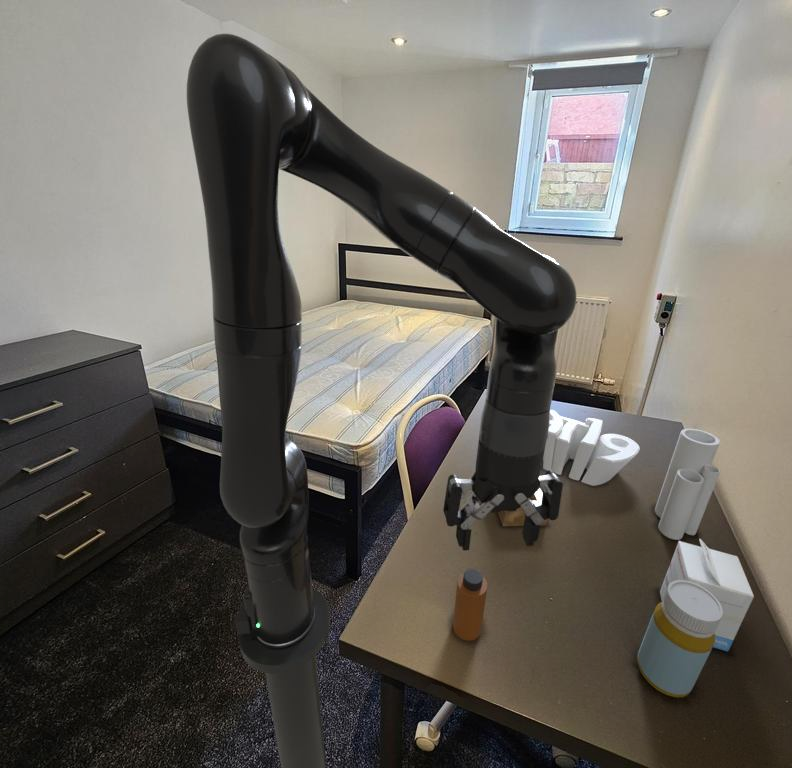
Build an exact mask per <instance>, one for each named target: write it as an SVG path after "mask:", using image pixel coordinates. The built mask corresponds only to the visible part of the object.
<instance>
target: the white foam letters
mask: <svg viewBox="0 0 792 768" xmlns="http://www.w3.org/2000/svg"><path fill="white" fill-rule="evenodd" d="M602 427H603V420H602V419H599V418H593V417H587V418H586V419H585V421H584V422H583V421H580V420H576V419H574V418H569V417H566V416H562V415H560V414H559V413H558V412H557V411H556V410H554V409H550V421H549V430H548V438H547V440H546V446H545V451H544V456H543V461H542V469H543V470H545V471H549V470H553V471H554V472H555V474H556V475H559V476H562V473H563V469H564V467H565V465H566V464H567V462H568V461H569V460H573V463H572V466H571V468H570V471H569V474H568V478H569V479H571V480H575V481H580V482H581V483H583V484H586V485H589V486H593V487H595V486H600V485H603V484H606V483H608V482H609V481H610V480H612V479H613V478H614V477H615V476H616V475H617V474H618V473H619V472H620V471H621V470H622V469H623V468H624V467H626V465H628V463H629V462H631V460H633V459H634V458H635V457H636V455H637V454H639V452H640V446H639V444H638V443H637V442H636V441H635V440H633V439H631V438H630V437H627V436H624V435H622V434H618V433H605V434H602V435H601V432H602ZM585 469H586V472H585V473H584V471H585ZM583 473H584V476H582V475H583ZM581 477H582V480H581Z"/></svg>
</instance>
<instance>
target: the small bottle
mask: <svg viewBox="0 0 792 768" xmlns="http://www.w3.org/2000/svg"><path fill="white" fill-rule="evenodd" d="M456 583H457V584H456V593H455V601H454V611H453V619H452V629H453V632H454V634H455V635H456V636H457V637H458V638H459V639H461V640H462V641H468V642H469V641H474V640H477V639H478V638H479V636H480V635H481V633H482V627H483V620H484V612H485V606H486V601H487V600H486V599H487V593H488V582H487V579H486V578H485V577H484V575H483V573H482V572H481V570H478V569H476V568H473V567H472V568H471V567H470V568H467V569H465V571H464V572H463V573H461V574H460V575H459V576H458V578H457V581H456Z"/></svg>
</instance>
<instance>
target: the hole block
mask: <svg viewBox="0 0 792 768" xmlns="http://www.w3.org/2000/svg"><path fill="white" fill-rule="evenodd" d="M542 496H543V490H542V488H541V487H540V488H539V490H538V491H537V492H536V493H535V494H534V495H533V496H532V497H531V498H530V499H531V500H532V502H533V503H534V504H535V506H536V507H537V506H540V505H541V503H542ZM497 514H498V517H499V521H500V522H501V525H502V527H523V526H524V520H525V515H526V512H525V511H524V510H523V509H522V507H520V508H518V509H516V511H505V510H504V511H500V512H497ZM547 522H548V519H546V520H544V522H543V523H542V524H541V526H542V527H543V526H547Z"/></svg>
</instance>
